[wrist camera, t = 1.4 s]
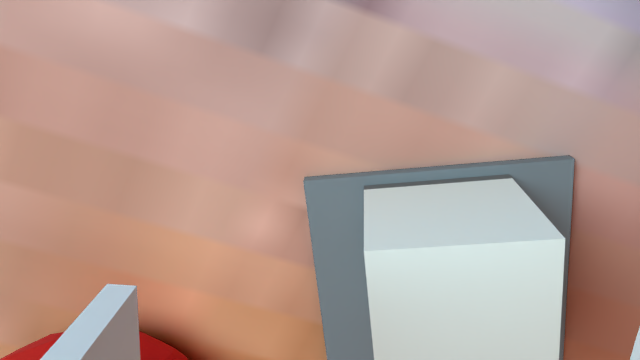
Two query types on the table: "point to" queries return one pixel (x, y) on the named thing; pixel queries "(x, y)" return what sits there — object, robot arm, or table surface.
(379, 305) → the cream block
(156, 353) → the tomato
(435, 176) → the rubber mat
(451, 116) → the table surface
